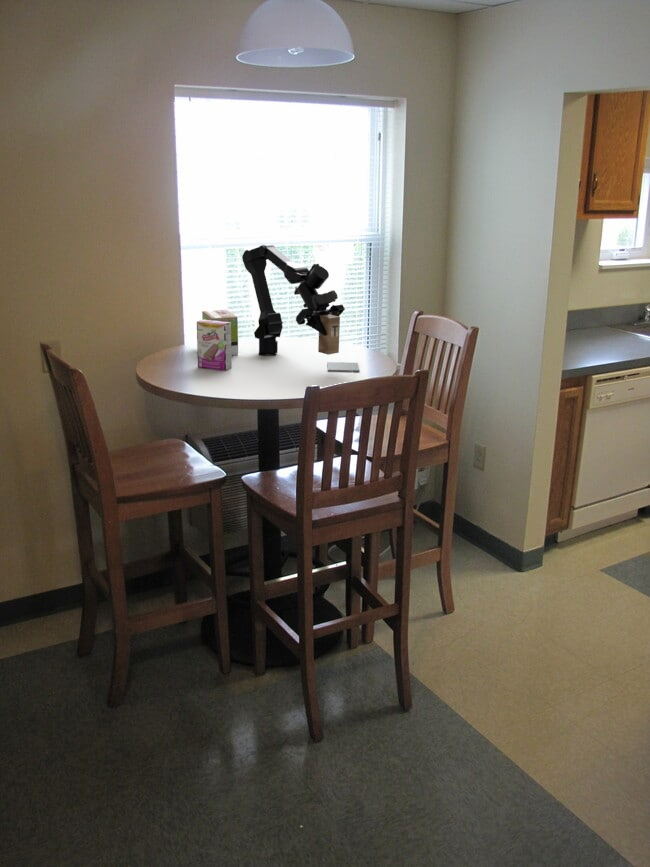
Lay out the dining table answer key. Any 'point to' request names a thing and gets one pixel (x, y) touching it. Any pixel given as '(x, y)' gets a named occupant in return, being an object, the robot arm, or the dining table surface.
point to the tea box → (225, 317)
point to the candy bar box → (214, 344)
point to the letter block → (329, 335)
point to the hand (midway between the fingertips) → (331, 334)
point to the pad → (342, 367)
